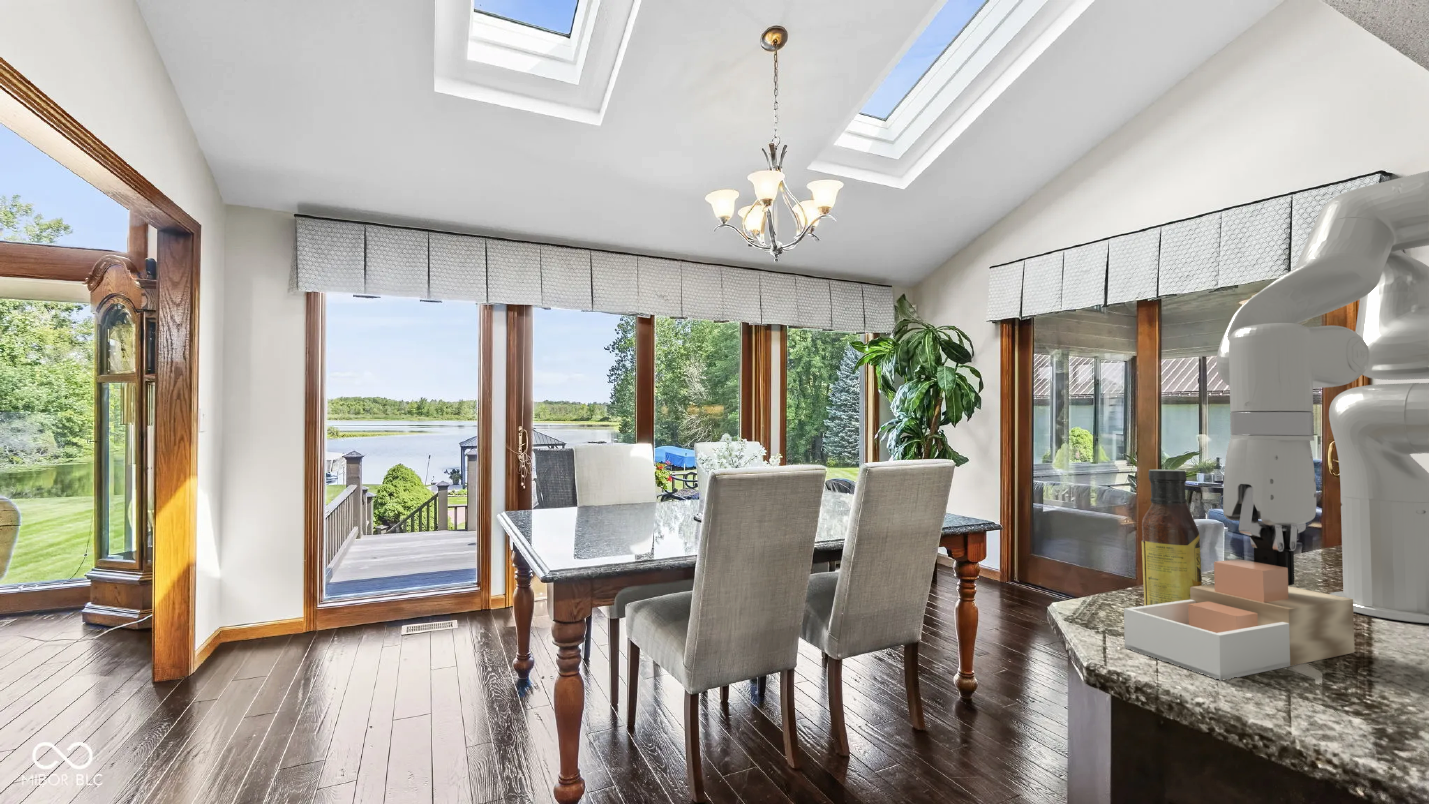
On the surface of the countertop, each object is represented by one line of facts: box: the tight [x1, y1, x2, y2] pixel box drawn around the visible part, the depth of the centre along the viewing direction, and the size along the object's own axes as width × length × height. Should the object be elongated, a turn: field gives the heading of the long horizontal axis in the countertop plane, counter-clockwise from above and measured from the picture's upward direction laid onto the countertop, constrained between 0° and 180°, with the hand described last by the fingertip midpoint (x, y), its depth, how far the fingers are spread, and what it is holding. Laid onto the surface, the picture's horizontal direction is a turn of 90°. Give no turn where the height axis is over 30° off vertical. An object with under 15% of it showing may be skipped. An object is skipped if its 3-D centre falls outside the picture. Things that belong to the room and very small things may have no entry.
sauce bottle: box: [1141, 468, 1203, 606], centre depth 83 cm, size 6×6×20 cm
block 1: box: [1213, 558, 1289, 602], centre depth 74 cm, size 4×5×4 cm
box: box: [1123, 599, 1291, 681], centre depth 71 cm, size 12×10×4 cm
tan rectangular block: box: [1190, 583, 1356, 667], centre depth 75 cm, size 12×10×6 cm
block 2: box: [1188, 601, 1258, 633], centre depth 72 cm, size 4×5×4 cm
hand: (1274, 582), depth 75 cm, fingers closed
